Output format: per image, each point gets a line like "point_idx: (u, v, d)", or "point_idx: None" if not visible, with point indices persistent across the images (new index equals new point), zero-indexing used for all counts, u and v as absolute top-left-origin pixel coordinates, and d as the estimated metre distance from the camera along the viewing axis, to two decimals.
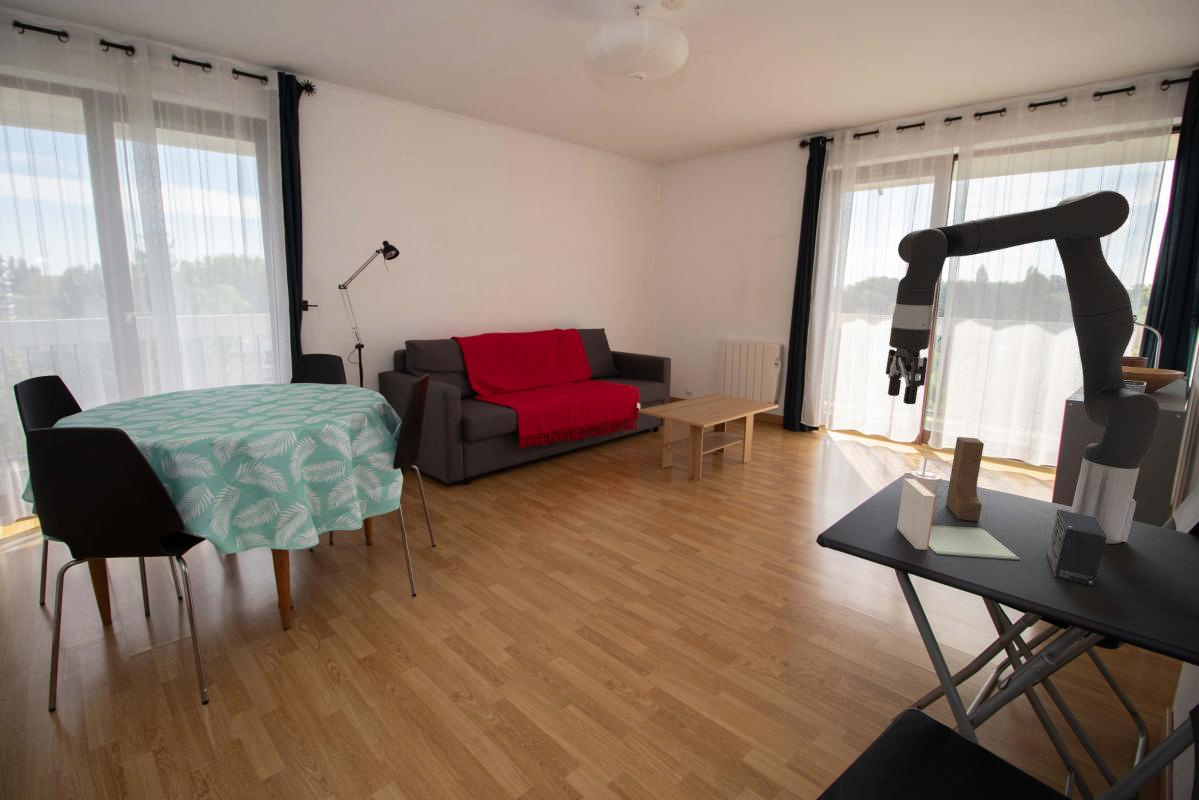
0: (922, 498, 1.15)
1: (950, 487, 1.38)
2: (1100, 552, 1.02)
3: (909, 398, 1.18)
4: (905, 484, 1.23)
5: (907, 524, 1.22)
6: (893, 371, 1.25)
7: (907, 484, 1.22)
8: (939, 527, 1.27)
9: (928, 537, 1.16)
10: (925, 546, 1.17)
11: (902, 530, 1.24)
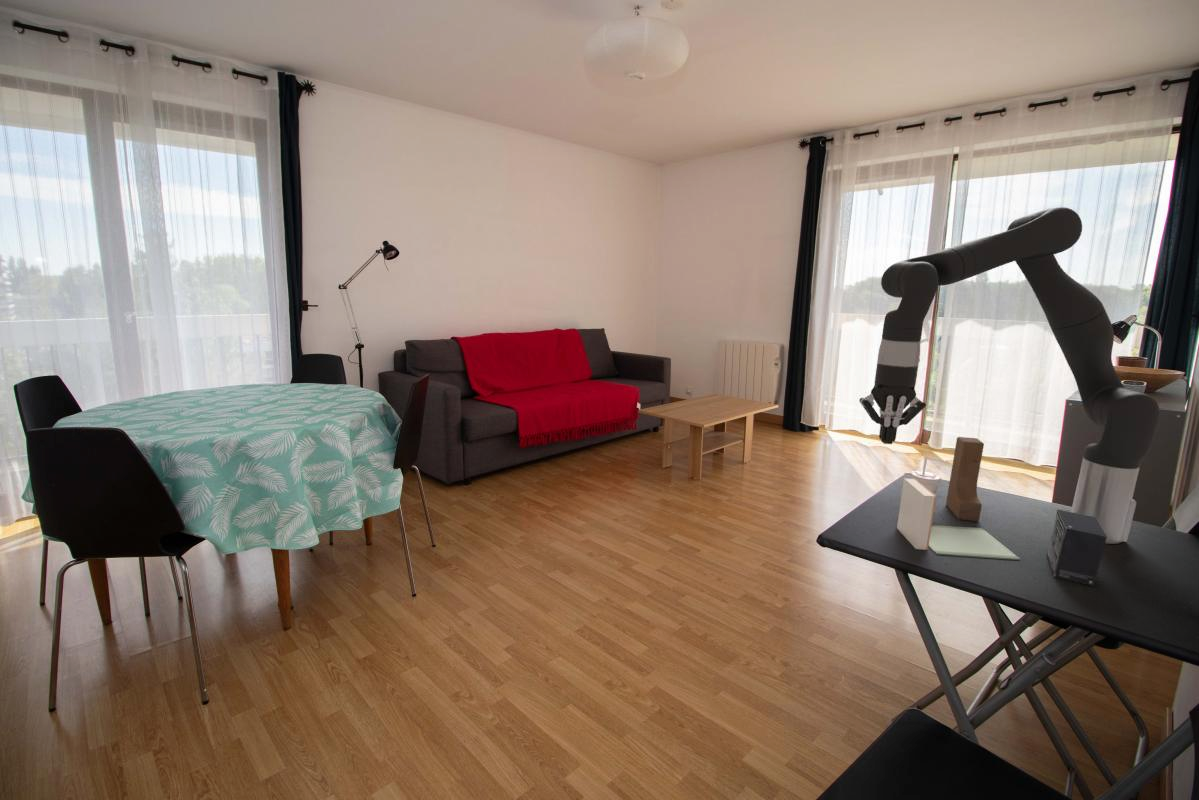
0: (922, 498, 1.15)
1: (950, 487, 1.38)
2: (1100, 552, 1.02)
3: (895, 437, 1.17)
4: (905, 484, 1.23)
5: (907, 524, 1.22)
6: None
7: (907, 484, 1.22)
8: (939, 527, 1.27)
9: (928, 537, 1.16)
10: (925, 546, 1.17)
11: (902, 530, 1.24)
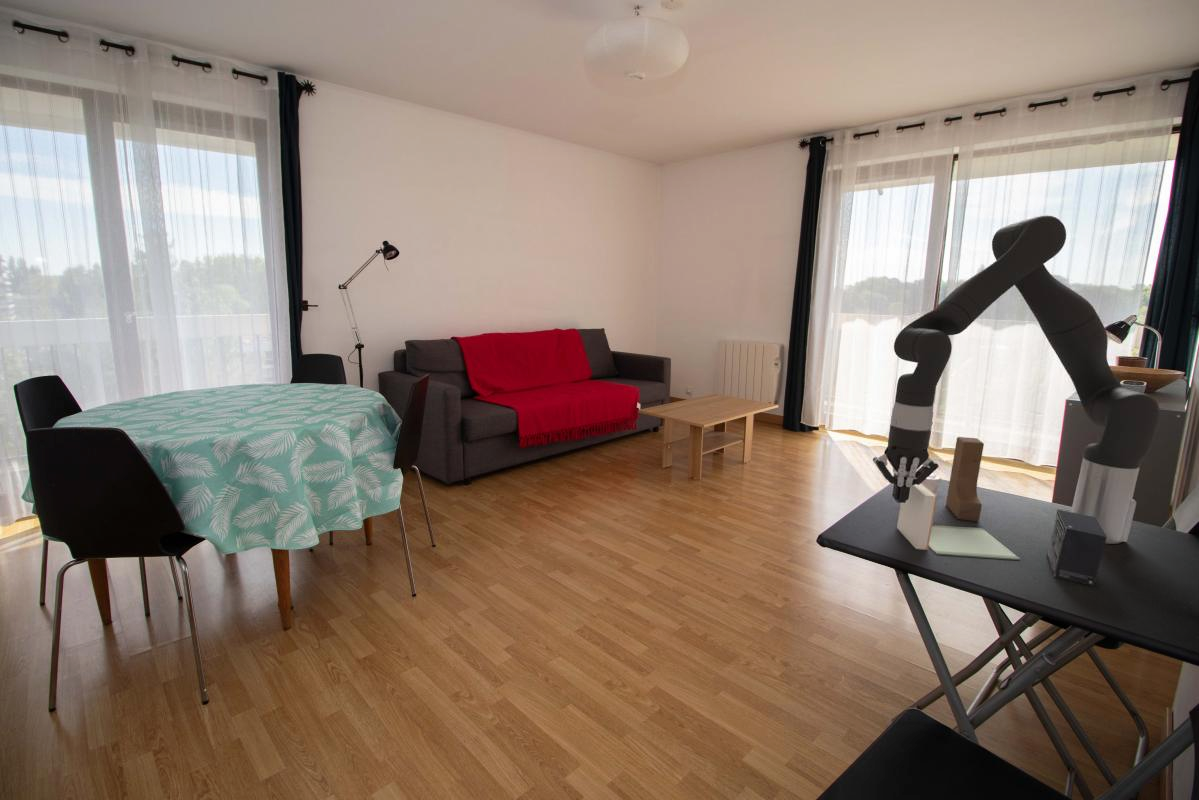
0: (923, 498, 1.15)
1: (950, 487, 1.38)
2: (1100, 552, 1.02)
3: (908, 496, 1.19)
4: None
5: (907, 524, 1.22)
6: None
7: None
8: (939, 527, 1.27)
9: (928, 537, 1.16)
10: (925, 546, 1.17)
11: (903, 530, 1.24)
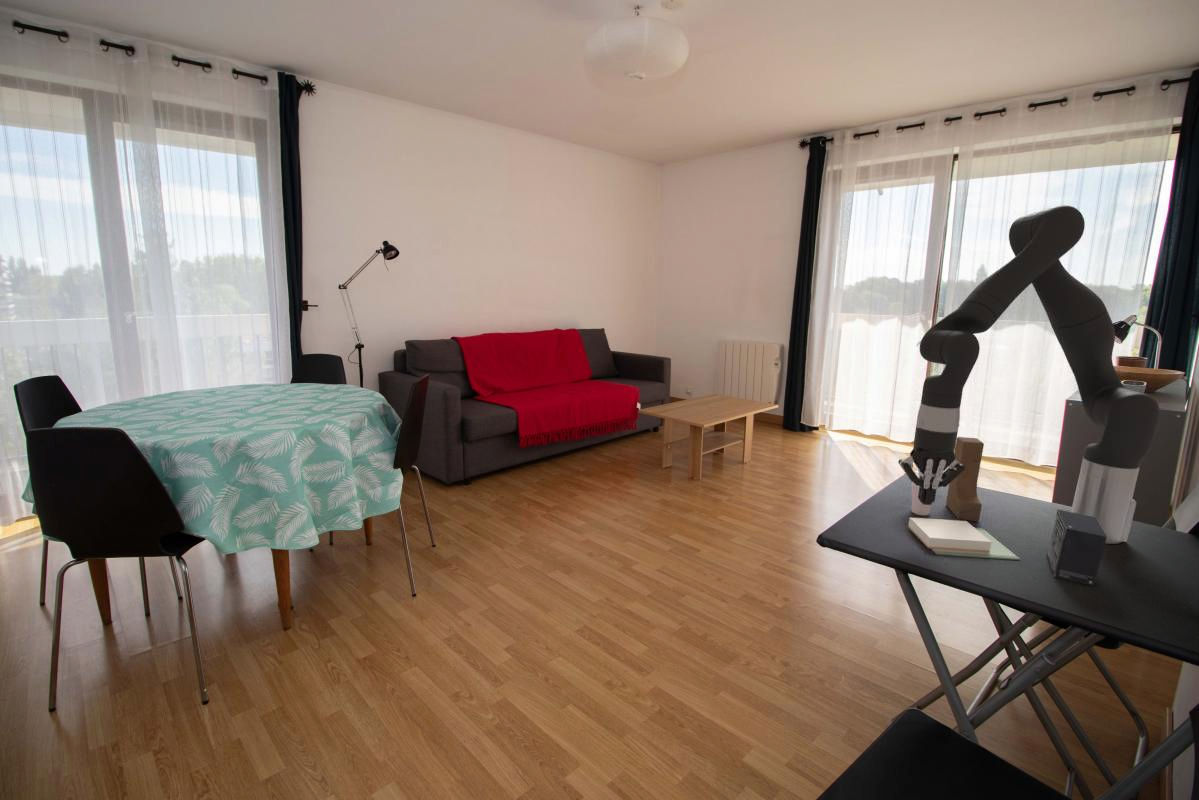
0: (985, 540, 1.16)
1: (950, 487, 1.38)
2: (1100, 552, 1.02)
3: (934, 498, 1.19)
4: (963, 522, 1.24)
5: (932, 527, 1.21)
6: None
7: (968, 524, 1.23)
8: None
9: (942, 548, 1.16)
10: (932, 545, 1.17)
11: (920, 523, 1.23)
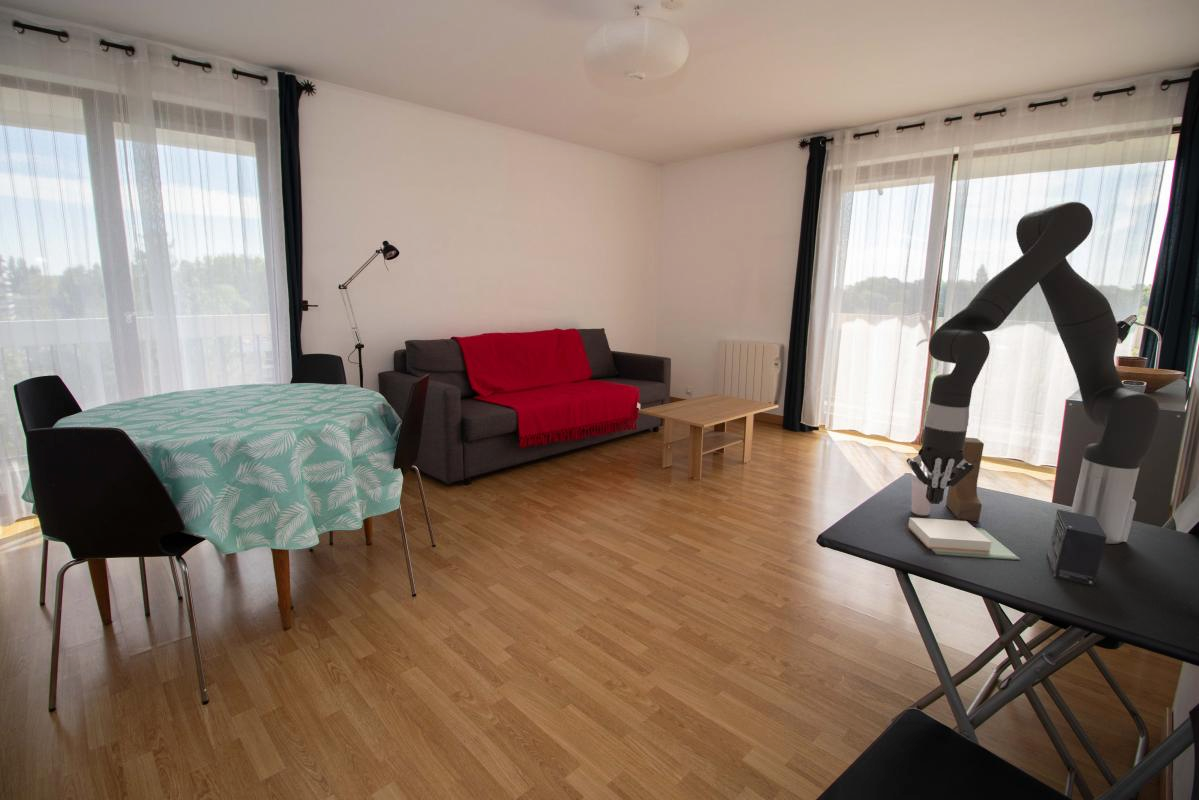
0: (985, 540, 1.16)
1: (950, 487, 1.38)
2: (1100, 552, 1.02)
3: None
4: (963, 522, 1.24)
5: (932, 527, 1.21)
6: None
7: (968, 524, 1.23)
8: None
9: (942, 548, 1.16)
10: (932, 545, 1.17)
11: (920, 523, 1.23)
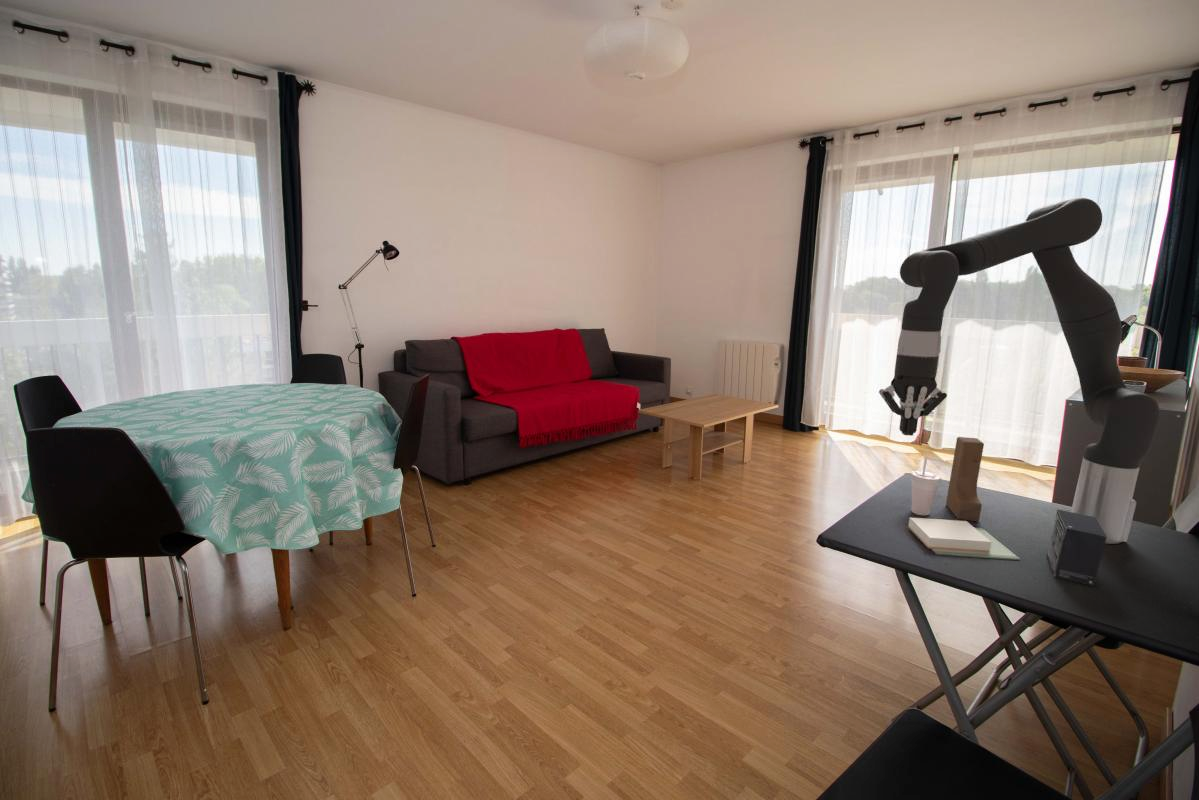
0: (985, 540, 1.16)
1: (950, 487, 1.38)
2: (1100, 552, 1.02)
3: (916, 429, 1.16)
4: (963, 522, 1.24)
5: (932, 527, 1.21)
6: None
7: (968, 524, 1.23)
8: None
9: (942, 548, 1.16)
10: (932, 545, 1.17)
11: (920, 523, 1.23)
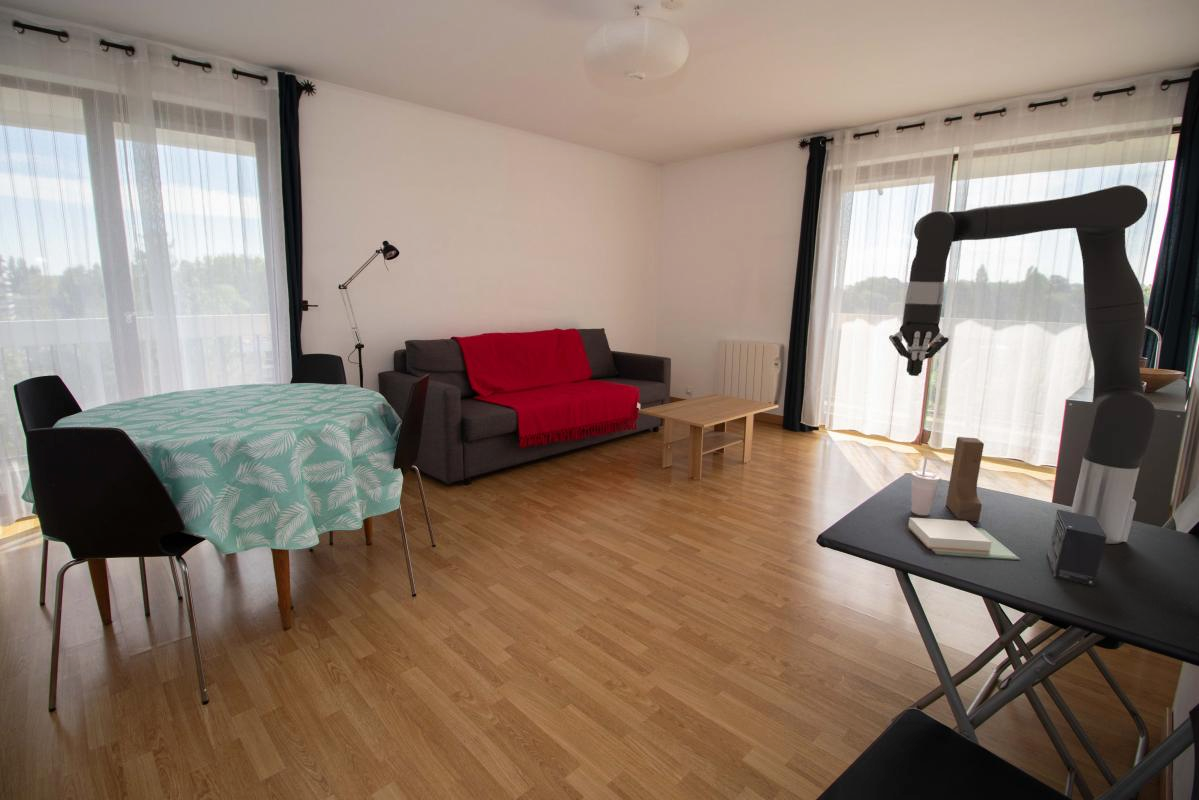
0: (985, 540, 1.16)
1: (950, 487, 1.38)
2: (1100, 552, 1.02)
3: None
4: (963, 522, 1.24)
5: (932, 527, 1.21)
6: None
7: (968, 524, 1.23)
8: None
9: (942, 548, 1.16)
10: (932, 545, 1.17)
11: (920, 523, 1.23)
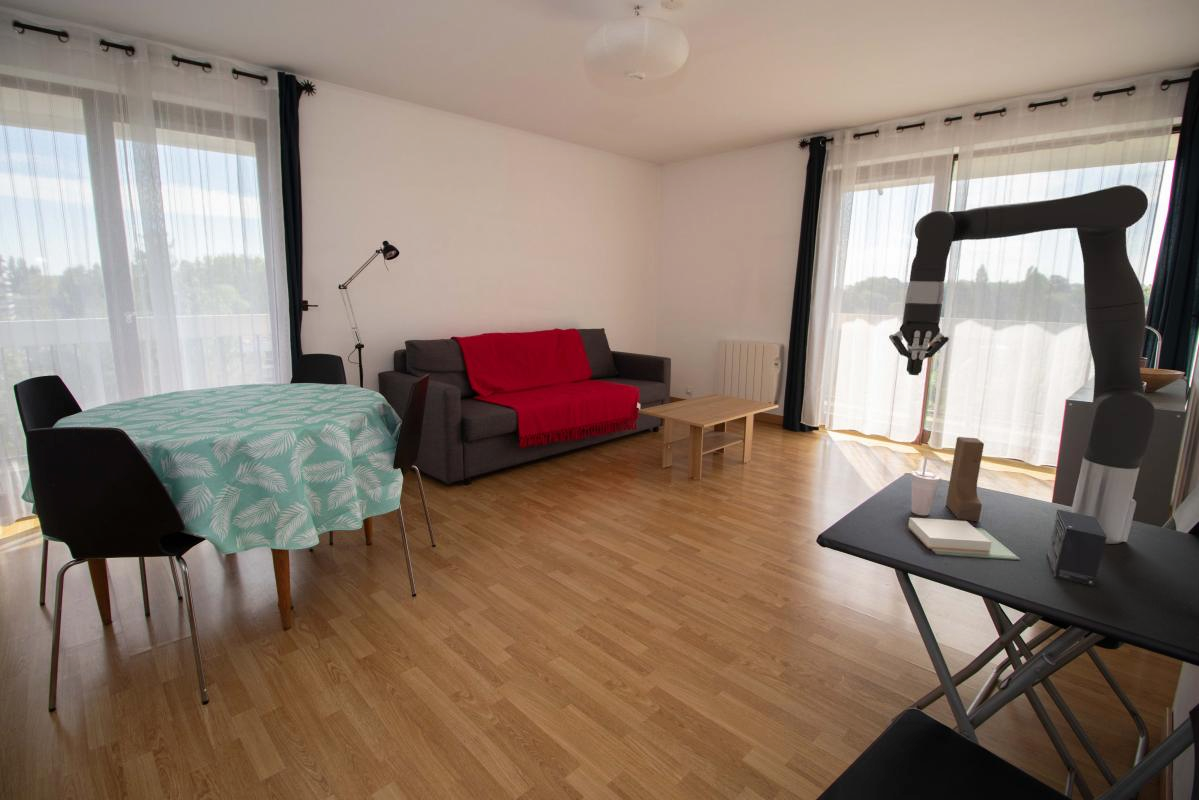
0: (985, 540, 1.16)
1: (950, 487, 1.38)
2: (1100, 552, 1.02)
3: (921, 369, 1.33)
4: (963, 522, 1.24)
5: (932, 527, 1.21)
6: None
7: (968, 524, 1.23)
8: None
9: (942, 548, 1.16)
10: (932, 545, 1.17)
11: (920, 523, 1.23)
